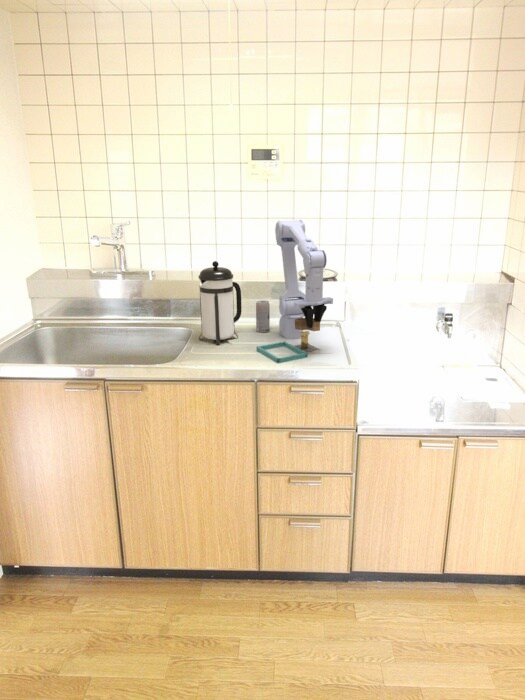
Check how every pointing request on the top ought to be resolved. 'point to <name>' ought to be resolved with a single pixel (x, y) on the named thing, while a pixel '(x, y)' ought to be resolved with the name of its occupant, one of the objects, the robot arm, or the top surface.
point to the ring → (302, 325)
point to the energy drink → (262, 316)
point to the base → (310, 348)
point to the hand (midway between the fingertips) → (313, 326)
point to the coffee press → (218, 303)
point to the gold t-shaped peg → (304, 339)
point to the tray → (300, 354)
